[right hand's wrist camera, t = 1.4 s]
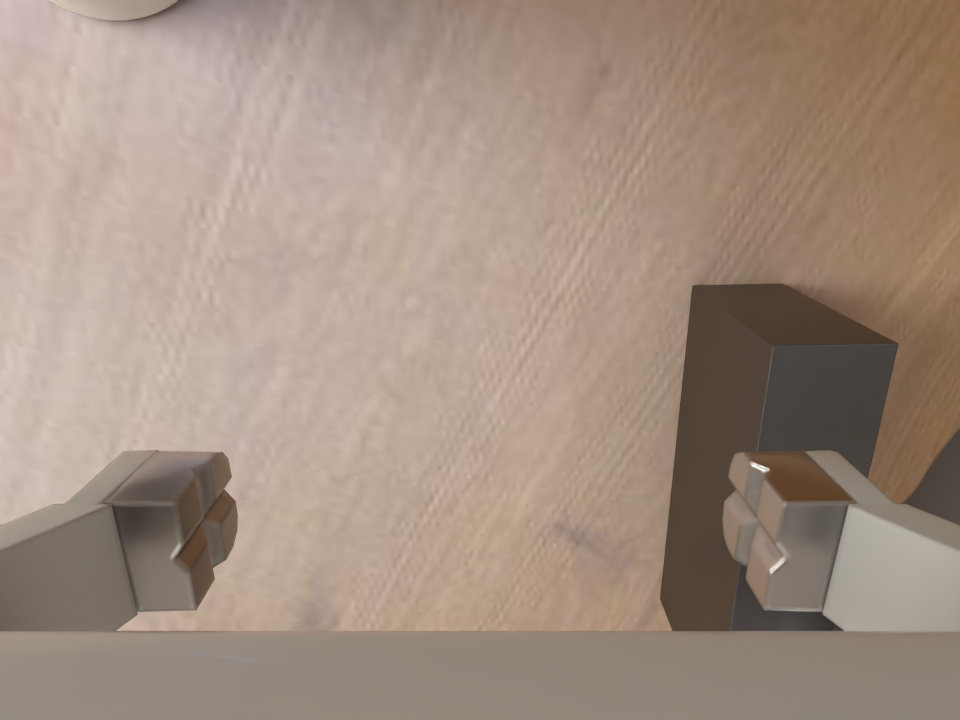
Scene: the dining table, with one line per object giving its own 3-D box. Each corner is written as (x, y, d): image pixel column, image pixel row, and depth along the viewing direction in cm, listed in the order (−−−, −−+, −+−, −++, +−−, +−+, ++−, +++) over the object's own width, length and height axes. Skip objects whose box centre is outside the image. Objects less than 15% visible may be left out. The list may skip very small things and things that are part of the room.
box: (692, 285, 42) (773, 345, 31) (783, 283, 42) (899, 343, 31) (659, 598, 52) (712, 736, 40) (734, 597, 52) (809, 735, 40)
